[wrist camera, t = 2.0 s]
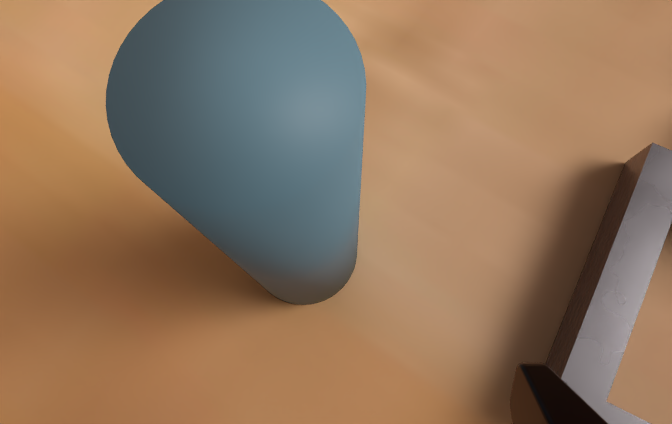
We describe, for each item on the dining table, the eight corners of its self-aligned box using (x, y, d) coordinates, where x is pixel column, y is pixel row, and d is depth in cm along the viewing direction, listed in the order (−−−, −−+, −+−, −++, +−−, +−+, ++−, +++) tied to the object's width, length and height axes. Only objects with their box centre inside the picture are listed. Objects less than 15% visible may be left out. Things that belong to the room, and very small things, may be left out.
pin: (314, 326, 20) (254, 268, 8) (230, 262, 21) (51, 113, 8) (377, 240, 21) (417, 61, 9) (294, 181, 22) (219, -65, 9)
